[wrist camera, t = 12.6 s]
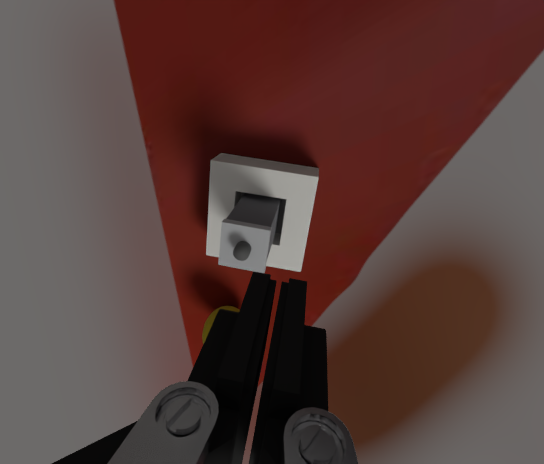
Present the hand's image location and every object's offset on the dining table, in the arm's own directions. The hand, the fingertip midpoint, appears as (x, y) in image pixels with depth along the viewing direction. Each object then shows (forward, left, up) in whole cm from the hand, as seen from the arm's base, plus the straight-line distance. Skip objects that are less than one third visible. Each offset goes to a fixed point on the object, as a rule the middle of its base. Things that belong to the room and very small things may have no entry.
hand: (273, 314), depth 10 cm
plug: (+7, -4, -27) cm, 28 cm away
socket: (+7, -4, -28) cm, 29 cm away
